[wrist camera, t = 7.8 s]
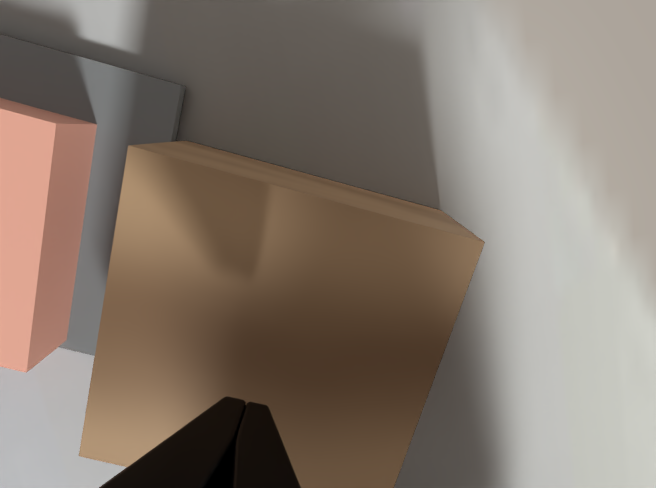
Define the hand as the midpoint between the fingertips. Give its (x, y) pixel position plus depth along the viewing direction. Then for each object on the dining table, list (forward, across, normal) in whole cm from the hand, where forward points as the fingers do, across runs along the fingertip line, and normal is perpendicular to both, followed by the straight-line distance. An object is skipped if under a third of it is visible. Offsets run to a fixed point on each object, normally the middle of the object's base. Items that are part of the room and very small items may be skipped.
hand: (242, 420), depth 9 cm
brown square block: (+6, 0, 0) cm, 6 cm away
